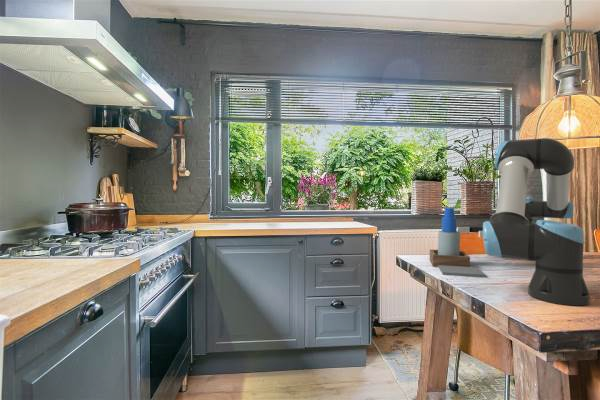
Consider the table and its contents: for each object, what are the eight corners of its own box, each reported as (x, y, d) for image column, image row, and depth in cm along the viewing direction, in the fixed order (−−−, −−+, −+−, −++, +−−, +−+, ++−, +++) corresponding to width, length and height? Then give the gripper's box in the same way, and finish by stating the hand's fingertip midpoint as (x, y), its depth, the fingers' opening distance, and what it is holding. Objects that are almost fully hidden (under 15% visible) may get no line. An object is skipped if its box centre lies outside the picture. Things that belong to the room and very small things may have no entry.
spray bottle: (433, 263, 154) (434, 207, 153) (443, 261, 159) (444, 207, 158) (453, 267, 147) (454, 208, 146) (463, 264, 152) (464, 207, 152)
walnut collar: (469, 268, 144) (470, 256, 144) (432, 266, 148) (433, 255, 148) (463, 261, 158) (463, 251, 158) (429, 260, 162) (429, 249, 162)
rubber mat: (485, 277, 130) (485, 274, 130) (442, 274, 134) (442, 272, 134) (477, 269, 143) (477, 267, 143) (438, 267, 147) (438, 265, 147)
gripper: (530, 242, 149) (489, 244, 143) (485, 235, 173) (449, 236, 167) (530, 225, 148) (489, 226, 143) (485, 220, 172) (449, 221, 167)
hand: (467, 232), depth 155 cm, fingers open, 13 cm apart
